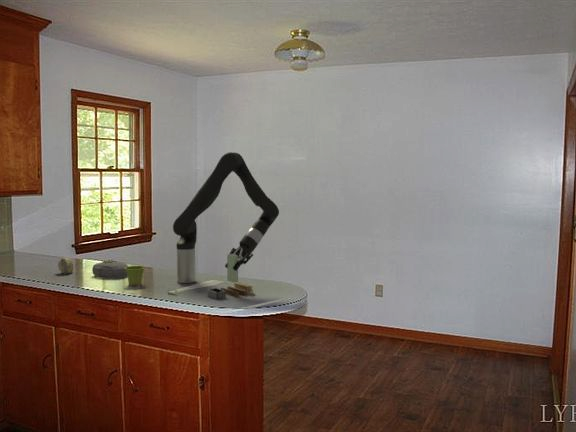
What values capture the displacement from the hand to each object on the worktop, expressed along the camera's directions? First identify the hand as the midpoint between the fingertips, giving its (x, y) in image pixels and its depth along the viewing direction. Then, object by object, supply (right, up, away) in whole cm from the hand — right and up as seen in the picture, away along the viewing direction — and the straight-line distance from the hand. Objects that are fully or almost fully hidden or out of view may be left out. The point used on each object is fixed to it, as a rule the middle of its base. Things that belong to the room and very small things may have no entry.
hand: (230, 268), depth 232 cm
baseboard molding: (-16, -12, +16) cm, 26 cm away
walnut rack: (+3, -12, +3) cm, 13 cm away
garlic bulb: (-98, -8, +56) cm, 113 cm away
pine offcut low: (+5, -11, +5) cm, 13 cm away
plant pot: (-51, -11, +26) cm, 58 cm away
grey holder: (-6, -13, -4) cm, 15 cm away
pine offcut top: (+5, -10, +4) cm, 12 cm away
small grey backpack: (-69, -9, +47) cm, 84 cm away
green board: (+1, -6, +1) cm, 6 cm away
